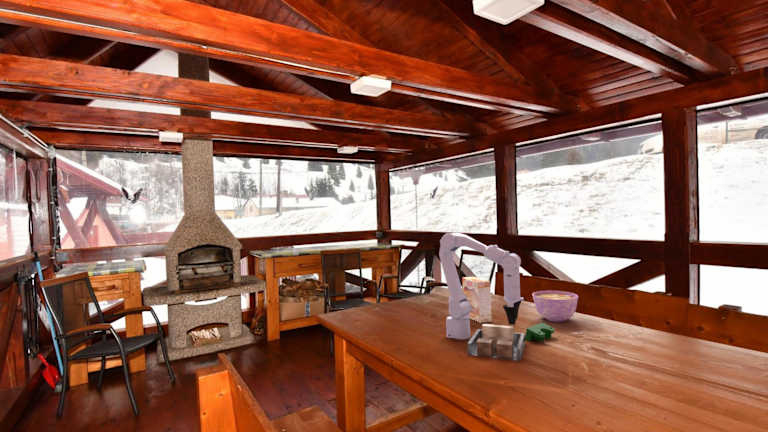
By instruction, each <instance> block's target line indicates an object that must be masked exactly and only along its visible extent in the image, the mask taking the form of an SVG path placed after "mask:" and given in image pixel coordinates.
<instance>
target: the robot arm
mask: <svg viewBox="0 0 768 432" xmlns="http://www.w3.org/2000/svg"><path fill="white" fill-rule="evenodd" d="M439 243H440V245H439V246H440V247H439V253H438V255H439V260H440V263H441V267H442V270H443V275H444V278H445V282H446V285H447V288H448V292H449V297H448V314H449V315H450V316H447V317H446V321H445V330H446V331H445V332H446V333H445V334H446V338H448V339H456V340H469V339H471V325H470V323H471V320H470V318H469V313H470V311H471V309H472V306H471V303H470V302H469V301H468V299H467V296H466V295H465V294H464V293H463V287H462V285H461V284H462V283H461V281H460V277H459V274H458V270H457V267H456V264H455V259H454V255H455V253H456V252H457V250H458V249H459V248H461V247H467V248H469V249H472V250H474V251H476V252H479V253H482V254H483V255H484V258H485V259H487V260H489V261H491V262H493V263H495V264H498V265H500V266H501V268H502V269H503V291H504V293H503V294H504V296H503V300H504V301H505V302H506V304H503V306H502V308H503V310H504V312H505V314H506V317H507V322H508V325H509V326H515V325H516V322H517V319H518V316H519V310H520V309H519V308H520V305H521V303H522V301H524V297H523V296H522V297H521V283H520V281H521V280H520V266H521V264H522V260H521V257H520V255H518V254H516V253H514V252H512V253H510V251H508V250H504V249H502V248H500V247H499V246H498V245H497V244H494V245H493V244H490V245H488V246H487V245H486V244H484V243H482V242H480V241H478V240H476V239H474V238H473V237H471V236H469V235H467V234H464V233H462V232H458V231H457V232H451V233H450V232H449V233H448V232H447V233H445V234H444V235H443V236H442V237H441V239H440V240H439Z"/></svg>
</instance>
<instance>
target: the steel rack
mask: <svg viewBox="0 0 768 432" xmlns="http://www.w3.org/2000/svg"><path fill="white" fill-rule="evenodd" d="M525 335H526V332H525V333H523V332H514V331H513V337H514V349H513V356H512V358H505V357H497V348H493V353H492V355H491V356H489V355H480V354H477V340H478V339H479V338H482V328H481V329H480V328H477V329H476V330H475V332H474V333H473V335H472V336H471V337H470V338H469V339H468V342H467V355H468V356H476V357H484V358H493V359H500V360H508V361H515V362H521V361H522V357H523V353H524V349H525V346H526V340H525Z"/></svg>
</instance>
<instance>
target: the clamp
mask: <svg viewBox="0 0 768 432" xmlns="http://www.w3.org/2000/svg"><path fill="white" fill-rule="evenodd" d="M555 330H556V329H555V328H554V327H552V326H551V325H549V324H546V323H544V322H540V323H538V324H534V325H532V326H530V327H529V326H528V327H527V328H526V331H525V341H527V342H531V341H533V340H534V341H538V342H541V343H543V342H544V341H545V339H549V340H551V338H552V334H554V333H555Z"/></svg>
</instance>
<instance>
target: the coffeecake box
mask: <svg viewBox="0 0 768 432" xmlns="http://www.w3.org/2000/svg"><path fill="white" fill-rule="evenodd" d="M461 281H462V283H461V284H462V291H463V293H464V294H465V295H466V296H467V299H468V301H469V302H470V303H471V306H472V309H471V311H470V313H469V318H470V319H471V320H472V321H474V320H475V322H476V321H477V323H478V322H479V323H478V324H483V323H482V322H484V323H488V322H489V323H490V322H492V299H491V281H490V280H488V279H484V278H480V277H476V276H465V277H464V276H463V277H462V279H461Z"/></svg>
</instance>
